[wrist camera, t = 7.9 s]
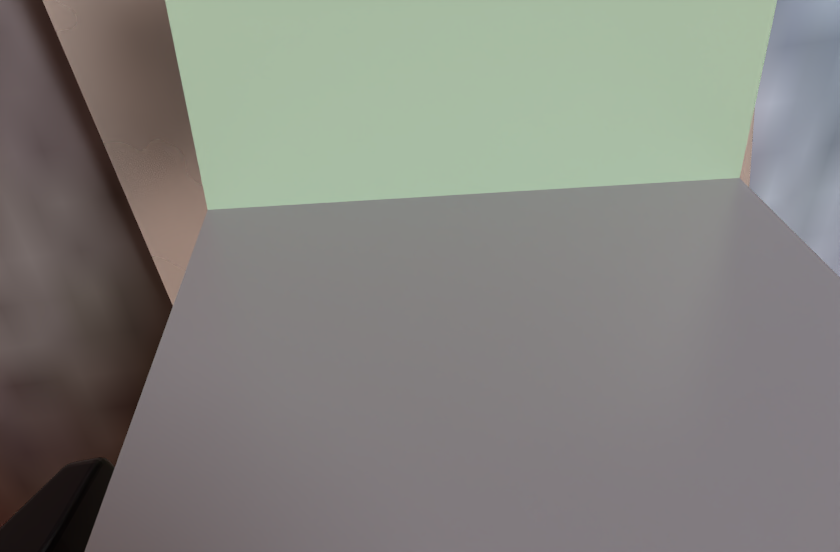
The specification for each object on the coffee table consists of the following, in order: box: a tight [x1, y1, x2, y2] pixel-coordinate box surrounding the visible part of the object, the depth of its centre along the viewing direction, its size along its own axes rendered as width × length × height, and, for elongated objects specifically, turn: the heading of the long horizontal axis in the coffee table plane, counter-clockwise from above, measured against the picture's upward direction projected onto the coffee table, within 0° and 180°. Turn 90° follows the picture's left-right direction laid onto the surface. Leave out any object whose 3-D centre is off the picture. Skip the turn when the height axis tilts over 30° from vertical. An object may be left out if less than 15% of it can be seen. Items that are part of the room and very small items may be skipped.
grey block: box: [85, 0, 840, 552], centre depth 8 cm, size 12×6×6 cm, turn 2°
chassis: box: [43, 0, 755, 305], centre depth 12 cm, size 14×10×4 cm
